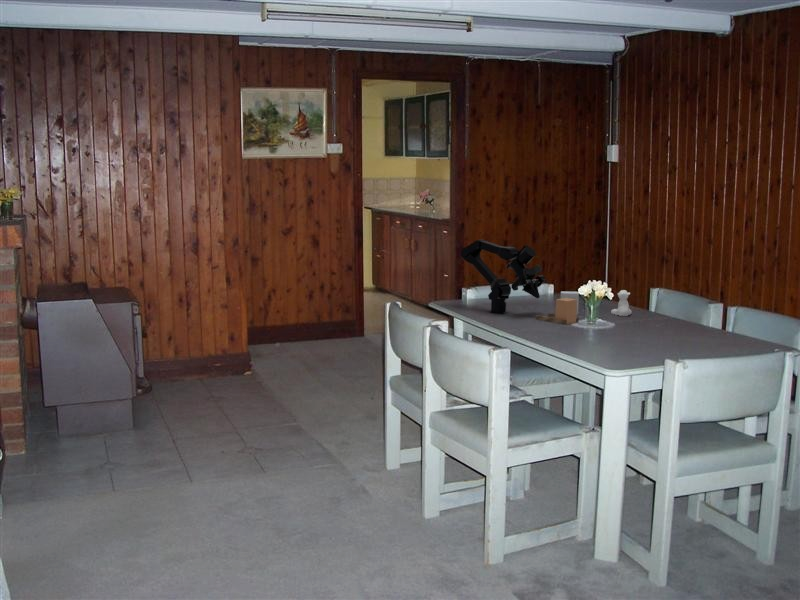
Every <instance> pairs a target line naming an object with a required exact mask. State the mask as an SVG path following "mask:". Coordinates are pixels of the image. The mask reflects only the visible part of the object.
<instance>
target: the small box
mask: <svg viewBox="0 0 800 600" xmlns="http://www.w3.org/2000/svg"><path fill="white" fill-rule="evenodd" d="M579 295H580V294H579V292H578V291H569V290H568V291H566V290H565V291H560V295H559V296H560V298H559V299H562V298H570V299H577V315H579V302H580V301H579V300H580V299H579V298H580V296H579Z"/></svg>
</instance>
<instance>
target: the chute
mask: <svg viewBox="0 0 800 600" xmlns="http://www.w3.org/2000/svg"><path fill="white" fill-rule="evenodd" d="M555 316H556V313H552V312H547V316H546V315H540V314H539V315H538V314H536V315H535V320H537V321H541V322H542V321H543V322H547V323H548V322H549V323H554V324H559V325H565V326H566V325H568V324H567V320H563V319H557V318H555ZM579 320H580V318H579V317H576V322H575V323H579V322H580V321H579Z"/></svg>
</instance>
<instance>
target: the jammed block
mask: <svg viewBox="0 0 800 600" xmlns="http://www.w3.org/2000/svg"><path fill="white" fill-rule="evenodd" d="M555 314H556V316H555V318H557V319H563V320H567V324H566V325H569V324H574V323H577V322H576V318H577V315H578V314H577V299H570V298H562V299H560V298H557V299H555Z"/></svg>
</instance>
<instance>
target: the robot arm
mask: <svg viewBox="0 0 800 600" xmlns="http://www.w3.org/2000/svg"><path fill="white" fill-rule="evenodd" d="M483 251H486V252H489V253H491V254H495V255H497V256H498V257H499V258H500V259H502V260H504V261H510V262H507V265H506V269H508V270H509V269H511V270H512V271H513V272H514V274H515V276H514V278H515V280H514V281H513V283H509V282H508V281H507V279H506V278H499V277H498V276H497V275H496V274H495V272H493V271H492V269H491V268H490V267H489V266H488V265H487V263H485V261H483V259H482V257H481V252H483ZM536 255H537V254H536V251H535V249H533V248H532V247H530V246H529V245H528V244H526V245H523V246H522V247H521V249H520V250H518V248H517V247H515V246H502V245H500V244H496V243H494V242H490V241H487V240H485V239H476V240H475V241H473V242H472V243H470V244H468V245H467V246H464V247H463V248H461V250H460V257H461V259H462V260H463V261H465V262H467V263H468V264H471V265H472V266H473V267H474V268H475V269H476V270H477V272H478V273H479V274H480V275H481V277H483V279H484V280H485V281H486V282H487V283H488V284H489V287H490V292H489V294H488V295H487V296H488V299H489V300H491V303H490V305H491V307H490V309H491V310H490V311H489V312H491V314H505V313H506V312H507V309H508V302H506V301H507V300H508V299H509V297H510V295H511V293H512V290H513V291H519V287H522V290H521V291H522V292H525V293H527V294H529V295H531V296H532V297H534V298H536V299H539V298H540V297H541V296H540V292H539V289H538V288H540V287H541V286H542V285H543V284H544V283H545V282H546V280H547V278H546V276H545V275H539V274H542V271H543V267H542V266H541V265H540V264H537V265H534V266H532V267H527V266H526V265H528V264H529V263H530V262H531V261H532V260H533V259H534V258H535V256H536ZM536 275H537V276H536Z"/></svg>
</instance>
